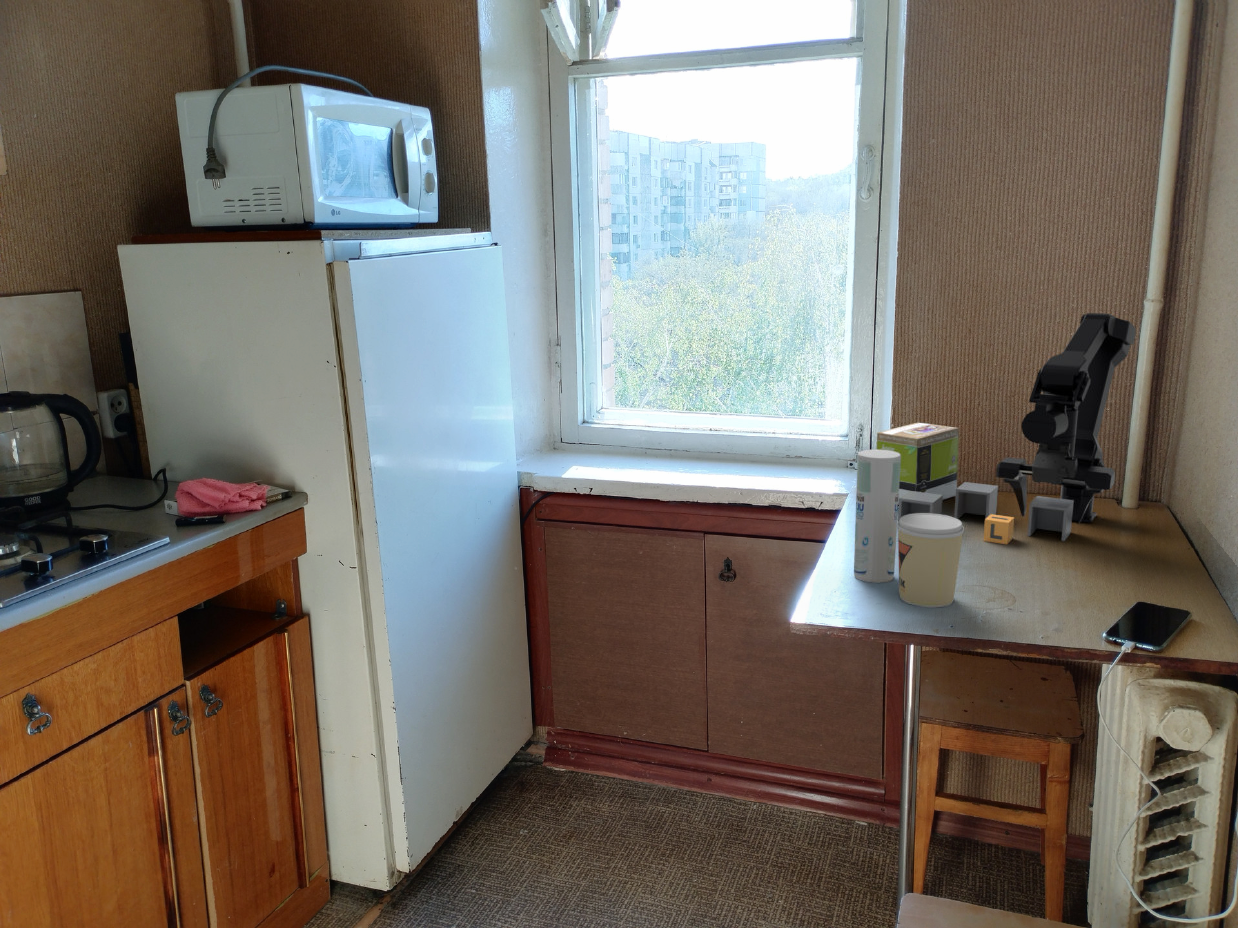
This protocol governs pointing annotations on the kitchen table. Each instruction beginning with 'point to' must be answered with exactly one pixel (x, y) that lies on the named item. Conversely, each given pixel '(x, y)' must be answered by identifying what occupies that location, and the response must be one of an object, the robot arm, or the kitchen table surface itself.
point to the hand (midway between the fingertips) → (1050, 519)
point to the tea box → (924, 457)
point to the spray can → (876, 515)
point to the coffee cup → (928, 558)
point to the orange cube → (998, 529)
